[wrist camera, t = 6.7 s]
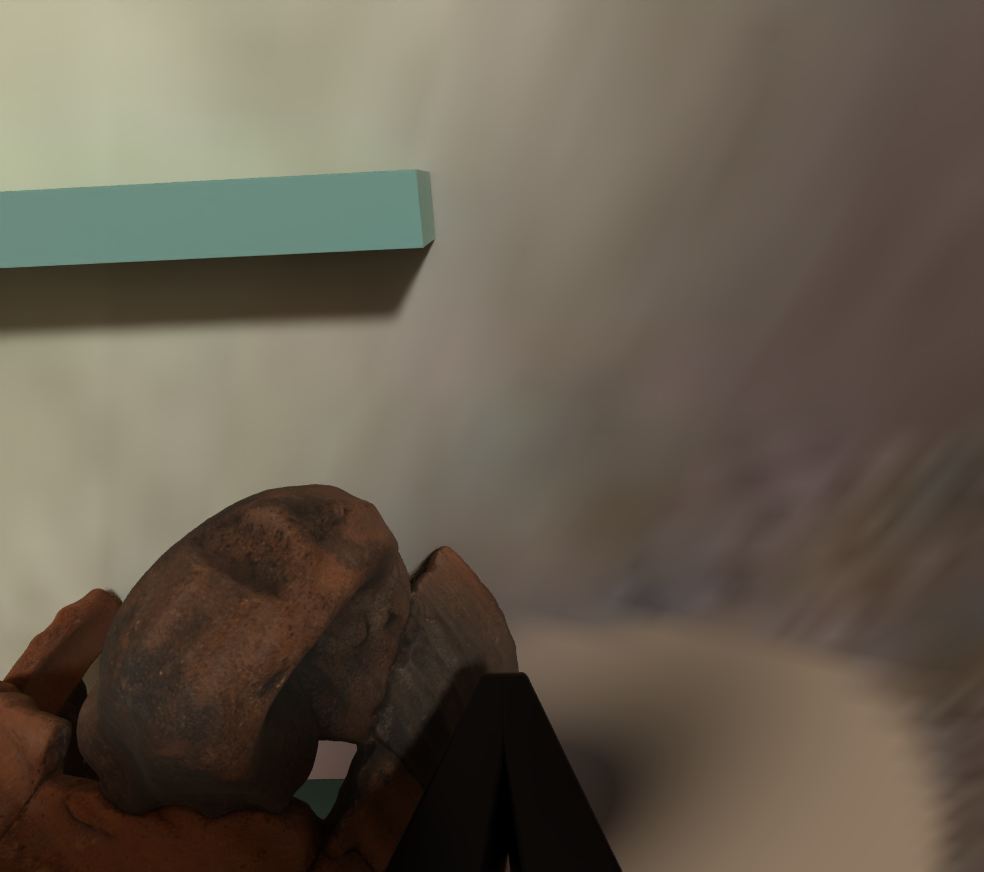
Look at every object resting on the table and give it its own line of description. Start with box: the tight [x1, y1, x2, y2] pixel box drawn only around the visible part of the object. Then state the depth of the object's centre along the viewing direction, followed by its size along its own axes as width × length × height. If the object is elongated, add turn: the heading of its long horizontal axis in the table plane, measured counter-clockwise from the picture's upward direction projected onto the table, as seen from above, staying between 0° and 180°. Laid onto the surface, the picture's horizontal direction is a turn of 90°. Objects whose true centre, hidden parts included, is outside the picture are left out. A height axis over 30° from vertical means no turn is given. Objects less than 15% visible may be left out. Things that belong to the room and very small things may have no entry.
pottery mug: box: [0, 484, 519, 872], centre depth 10 cm, size 12×10×8 cm
